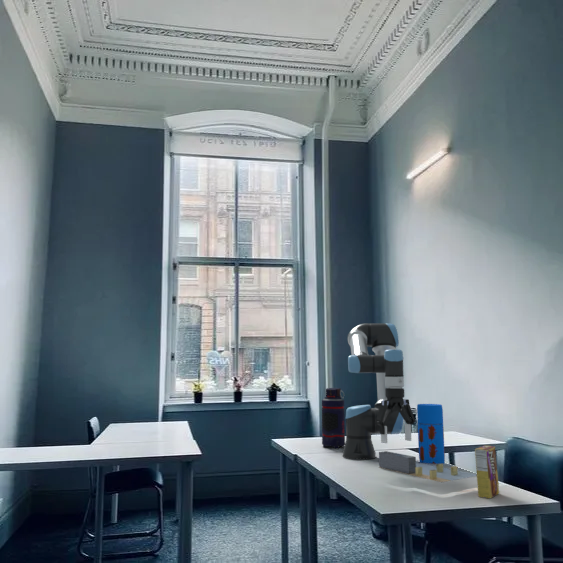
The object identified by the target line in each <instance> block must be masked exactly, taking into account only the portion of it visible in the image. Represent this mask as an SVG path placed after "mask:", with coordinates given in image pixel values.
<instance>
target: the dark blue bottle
mask: <svg viewBox="0 0 563 563" xmlns="http://www.w3.org/2000/svg"><path fill="white" fill-rule="evenodd" d="M341 392H342V393H343V395H345V393H344V391H343V390H342V389H341V388H340V387H327V388H325V397H324V398H323V399H321V434H322V435H321V445H322V447H323V448H326V447H333V448H334V449H339V448H340V447H342V446H343V448H344V446H345V442H346V413H345V400H344V399H343V396H342V394H341Z"/></svg>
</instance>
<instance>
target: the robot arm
mask: <svg viewBox="0 0 563 563" xmlns="http://www.w3.org/2000/svg"><path fill="white" fill-rule="evenodd" d="M347 343H348V345H349V347H350V353H351V355H349V356H348V357H347V365H348V366H347V367H348V372H349V373H351V374H352V373H355V374H371V373H372V374H376V390H377V391H376V392H377V401H376V403H375V404H374V407H372V406H371V404H362V405H360V404H359V405H354V406H350V407H347V409H346V411H345V445H344V447H343V450H342V457H343V458H344V459H345V458H346V459H349V460H350V459H351V460H373V459H375V458H376V456H377V455H376V451H375V448H374V444H373V441H372V435H375V434H378V435H380V443H382V444H388V435H395V434H396V435H398V434H400V433H402V431H403V426H404V440H405V441H409V442H411V441H412V432H413V429H412V428H413V427H412V426H413V425H414V423H416V418H415V416H414V413H413V410H412V408H411V405H410V400H409V399H407V398H405V388H404V386H405V379H404V378H405V377H404V376H405V375H404V354H403V350H401V349H397V347H399V333H398V329H397V327H396V325H395V324H394V323H389V322H388V323H387V322H383V323H381V322H379V323H373V322H372V323H367V322H366V323H360V324H358V325H356V326H355V327H353V328H352V329H351V330H350V331H349V333H348V334H347ZM368 347H371V350H372V352H374V354H369V351H368ZM404 422H405V423H404Z"/></svg>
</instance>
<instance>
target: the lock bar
mask: <svg viewBox="0 0 563 563" xmlns="http://www.w3.org/2000/svg"><path fill="white" fill-rule="evenodd" d="M378 461H379V462H378V467H380V468H379V469H382V468H384V469H383V470H387V469H389V470H388V471H391V470H393V471H392V472H395V471H397V472H396V473H400V472H402V473H401V474H404V473H406V474H405V475H408V474H413V473H416V471H415V467H416V462H417V459H416V456H412V455H407V454H403V453H397V452H392V451H388V450H387V451H386V450H385V451H378Z"/></svg>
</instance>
